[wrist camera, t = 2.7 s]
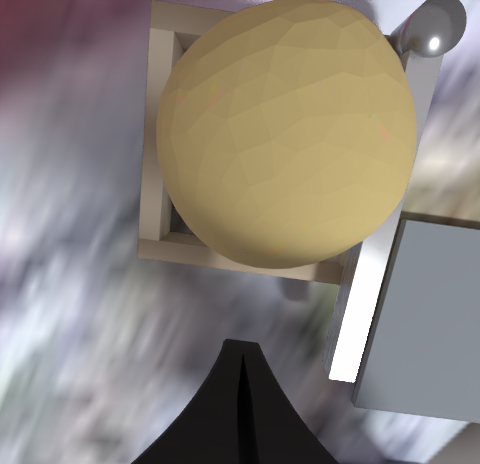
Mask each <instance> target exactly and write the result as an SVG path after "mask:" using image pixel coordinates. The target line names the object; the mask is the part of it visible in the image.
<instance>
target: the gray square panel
mask: <svg viewBox="0 0 480 464" xmlns="http://www.w3.org/2000/svg"><path fill="white" fill-rule="evenodd" d="M352 403H353V405H354V407H357V408H365V409H373V410H381V411H389V412H397V413H404V414H412V415H420V416H428V417H436V418H444V419H451V420H459V421H467V422H475V423H480V229H474V228H466V227H459V226H452V225H445V224H438V223H430V222H423V221H416V220H409V219H401V223H400V226H399V230H398V234H397V237H396V241H395V244H394V248H393V252H392V255H391V259H390V263H389V266H388V270H387V274H386V277H385V281H384V284H383V288H382V292H381V295H380V299H379V303H378V306H377V310H376V313H375V317H374V321H373V324H372V328H371V332H370V335H369V339H368V342H367V346H366V350H365V353H364V357H363V361H362V364H361V368H360V372H359V375H358V379H357V382H356V386H355V390H354V393H353V397H352Z"/></svg>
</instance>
